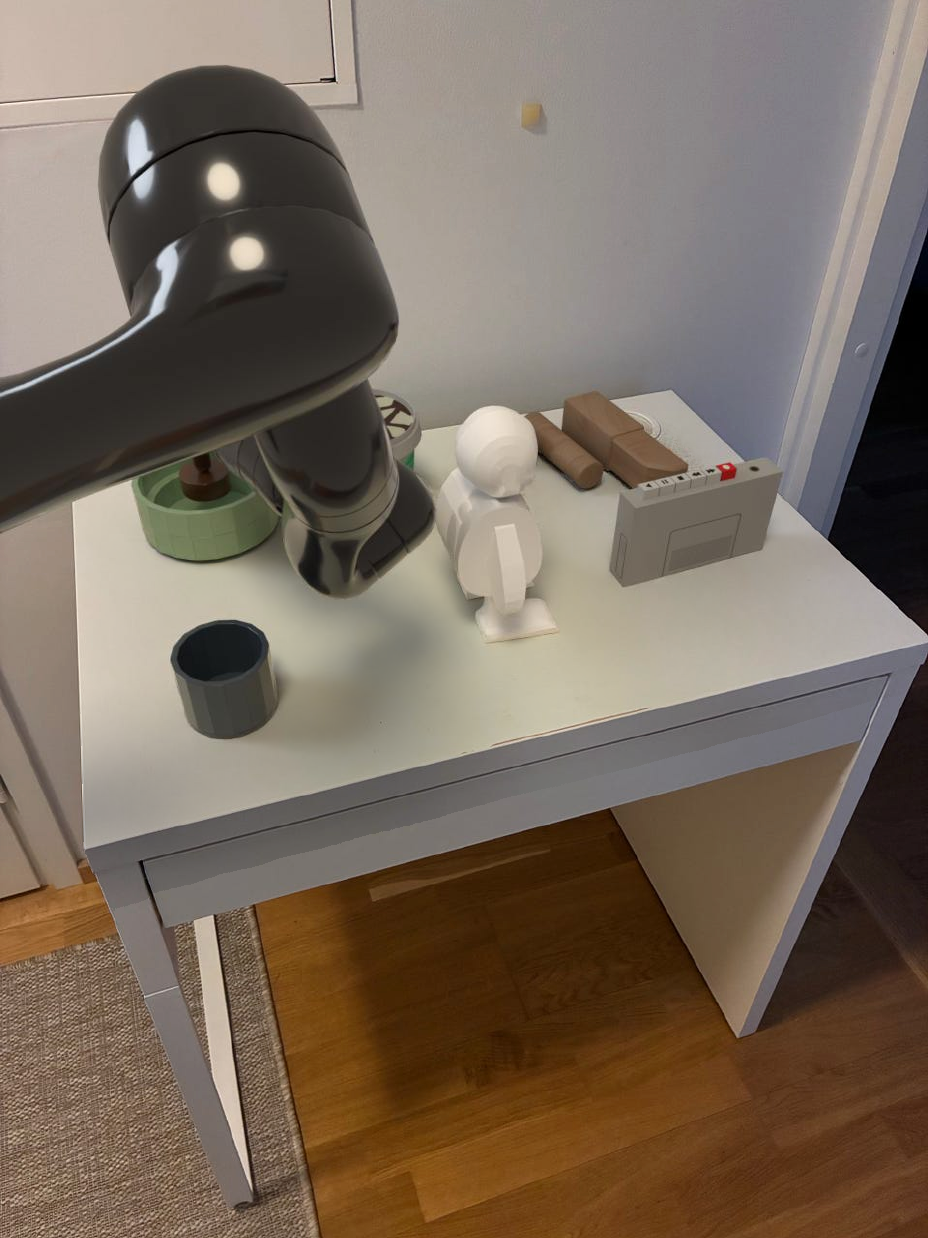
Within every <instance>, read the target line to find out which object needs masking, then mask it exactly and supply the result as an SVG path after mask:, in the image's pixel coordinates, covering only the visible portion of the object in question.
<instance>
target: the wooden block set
mask: <svg viewBox="0 0 928 1238" xmlns="http://www.w3.org/2000/svg"><path fill="white" fill-rule="evenodd" d="M562 409H563V410H562V419H561V428H560V427H558V426H557V425H556V424H555V423H554V422H553V421H551V420H550V419H549V418H547V417H546V416H545V415H543V414H542V413H541V412H539V411H530V412H528V413H527V414H525V415H524V416H523V417H525V418H526V419H528V420H529V421H530V422H531V424H532V426H533V427H534V430H535V434H536V439H537V444H538V452H539V453H541V454H542V455H543V456H545V457H546V459H548V460H549V461H550V462H551V463H552V464H553V465H555V467H557V468H558V469H559V470H560V471H561V472H562V473H563V474H564V475H566V476H567V477H568V478H569V479H571V481H572V482H574V483H575V484H576V485H577V486H578V487H580V488H581V489H586V490H587V489H591V488H593V487H595V486H596V485H597V484H598V483H599V482H600V481H601V479H602V478H603V475H604V471H606V472H607V471H608V472H610V471H611V472H613V473H614V475H616V476H617V477H618V478H620V479H621V480H622V481H624V482H625V483H626V484H627V485H628V486H629V487H631V489H634V488H637V487H638V484H641V483H645V482H650V481H654V480H658V479H662V478H666V477H670V476H675V475H679V474H683V473H687V472H689V471H688V470H689V466H690V465H689V464H688V463H687V462H686V461H685V460H684V459H683V458H681V457H679V456H678V455H677V454H676V453H675V452H673V451H672V450H670V449H669V448H668V447H667V446H665V445H664V444H662V442H660V441H658V440H657V439H656V438H655V437H653V436H652V435H651V434H650V433H648V432H647V431H646V430H645V427H644V425H643V424H642V423H640V422H639V421H638V420H637V419H635V418H633V417H632V416H631V415H630V414H628V413H627V412H625V410H623V409H622V408H620V407H619V406H618V405H616V403H614V402H613V401H611V400H610V399H608V397H606V396H605V395H603V394H602V393H600V392H599V391H597V390H596V391H595V390H593V391H590V392H585V393H582V394H578V395H575V396H571V397H568V398H567V397H566V398H565V399H564V401H563V408H562Z"/></svg>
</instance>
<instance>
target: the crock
mask: <svg viewBox="0 0 928 1238" xmlns="http://www.w3.org/2000/svg"><path fill="white" fill-rule="evenodd" d="M271 652H272V651H271V647H270V643H269V640H268V639H267V637H266V634H265V633H264V631H263V630H261V629H260V628H258V627H257V626H256V625H254V624H253V623H251V622H247V621H243V620H239V619H216V620H212V621H209V622H205V623H201V624H199V625H197V626H196V627H193V628H192V629H190V630H188V631H187V632H185V633H184V634H182V635H181V637H180V638H179V639H178V640H177V642H176V643H175V644H174V645H173V646H172V651H171V655H170V660H169V661H170V665H171V669H172V673H173V677H174V679H175V683H176V687H177V691H178V695H179V698H180V702H181V706H182V710H183V712H184V715H185V718H186V721H187V724H188V725H189V726H190V727H191V728H192V729H193V730H194V731H196V732H197V733H199V734H201V735H202V736H205V737H208V738H212V739H218V740H219V739H221V740H227V739H235V738H240V737H244V736H246V735H249V734H252V733H254V732H255V731H257V730H259V729H261V728H262V727H263V726H264V725H266V724H267V723H268V721H270V720H271V718H272V717H273V715H274V714H275V712H276V709H277V706H278V701H279V700H278V688H277V681H276V676H275V670H274V665H273V664H274V663H273V659H272V653H271Z"/></svg>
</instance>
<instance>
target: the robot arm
mask: <svg viewBox="0 0 928 1238" xmlns="http://www.w3.org/2000/svg"><path fill="white" fill-rule="evenodd" d="M98 161H99V162H98V174H97V175H98V176H97V178H98V179H97V188H98V189H97V190H98V198H99V205H100V211H101V219H102V223H103V228H104V233H105V236H106V240H107V244H108V247H109V250H110V253H111V257H112V259H113V263H114V266H115V269H116V273H117V275H118V280H119V283H120V286H121V290H122V293H123V296H124V300H125V303H126V307H127V309H128V313H129V319H128V320H127V321H126V322H125V323H124V324H122V325H120V326H119V327H118V328H117V329H114V330H113V331H112V332H110V333H109V334H107V335H106V336H104V337H102V338H100V339H99V340H97V341H95V342H94V343H92V344H89V345H88V346H86V347H84V348H81V349H79V350H77V351H74V352H73V353H70V354H68V355H66V356H63V357H59V358H57V359H55V360H52V361H50V362H49V361H48V362H47V363H43V364H41V365H39V366H35V367H33V368H30V369H27V370H24V371H22V372H19V373H15V374H10V375H5V376H0V535H1V534H4V533H6V532H8V531H10V530H12V529H14V528H17V527H18V526H22V525H23V524H25V523H28V522H30V521H32V520H34V519H37V518H39V517H41V516H43V515H46V514H48V513H50V512H53V511H56V510H57V509H59V508H62V507H64V506H66V505H69V504H71V503H74V502H76V501H79V500H81V499H84V498H87V497H88V496H91V495H94V494H96V493H100V492H103V491H105V490H107V489H110V488H113V487H116V486H119V485H120V484H124V483H127V482H129V481H132V479H135V478H138V477H141V476H144V475H146V474H149V473H152V472H155V471H158V470H160V469H163V468H166V467H169V466H172V465H174V464H177V463H180V462H183V461H186V460H188V459H191V458H194V457H197V456H200V455H202V454H205V453H208V452H212V453H213V454H214V456H215V457H216V459H217V460H218V461H220V462H221V463H222V464H223V465H224V466H225V467H226V468H227V469H228V470H229V471H230V472H231V473H232V474H234V475H235V476H236V477H237V478H239V479H240V480H242V481H243V482H245V483H246V484H247V485H248V486H249V487H250V488H251V489H252V490H253V491H254V492H255V493H256V494H257V495H258V496H259V497H260V498H261V499H262V500H263V501H264V502H265V503H266V504H267V505H268V506H269V507H270V508H271V509H272V510H273V511H274V512H275V513H277V514H278V516H279V517H281V535H282V541H283V545H284V549H285V552H286V555H287V558H288V560H289V562H290V564H291V565H292V568H293V569H294V571H295V572H296V574H297V575H298V577H299V578H300V580H302V582H304V584H305V585H307V586H308V588H310V590H312V591H314V592H315V593H317V594H318V595H320V596H321V597H324V598H326V599H329V600H330V599H331V600H336V601H343V600H345V601H346V600H350V599H354V598H356V597H358V596H360V595H362V594H363V593H365V592H366V591H367V590H369V589H370V588H372V586H374V585H375V584H376V583H377V582H379V580H380V579H382V578H383V577H384V576H385V575H386V574H387V573H389V572H390V571H391V570H392V569H393V568H395V567H396V566H397V565H398V564H399V563H400V562H401V561H402V560H404V559H405V558H406V557H407V556H408V555H409V554H411V553H412V552H413V551H415V550H416V549H417V548H418V547H420V545H422V544H423V543H424V542H425V541H426V540H427V539H428V538H429V536H430V535H431V534H432V532H433V530H434V528H435V525H436V502H435V499H434V495H433V494H432V492H431V490H430V488H429V486H428V485H427V483H426V482H425V481H424V479H422V477H421V476H420V475H419V474H418V473H417V472H416V471H415V470H414V469H413V470H412V469H411V468H409V467H408V466H407V465H405V464H404V463H402V462H401V461H399V460H397V459H395V456H394V452H393V448H392V444H391V440H390V437H389V433H388V430H387V427H386V424H385V421H384V418H383V415H382V413H381V410H380V407H379V405H378V402H377V400H376V398H375V395H374V393H373V390H372V385H371V382H370V380H369V378H370V377H371V376H372V375H373V374H374V373H376V372H377V371H378V369H380V367H381V366H382V365H383V364H384V362H385V361H387V359H388V358H389V355H390V354H391V352H392V350H393V349H394V346H395V343H396V342H397V339H398V335H399V325H400V315H399V310H398V305H397V301H396V297H395V294H394V291H393V288H392V285H391V282H390V279H389V277H388V274H387V271H386V268H385V266H384V263H383V259H382V257H381V255H380V252H379V250H378V248H377V246H376V244H375V241H374V239H373V236H372V235H373V234H372V233H371V230H370V228H369V224H368V222H367V220H366V216H365V214H364V211H363V209H362V207H361V206H362V205H361V204H360V200H359V198H358V196H357V193H356V190H355V187H354V184H353V182H352V179H351V176H350V173H349V171H348V169H347V167H346V163H345V161H344V159H343V157H342V153H341V151H340V150H339V147H338V145H337V143H336V142H335V140H334V138H333V137H332V136H331V134H330V132H329V130H328V129H327V127H326V126H325V125H324V124H323V122H322V120H321V118H320V117H319V116H318V114H317V113H316V112H315V110H314V109H313V108H312V107H311V106H310V105H309V104H308V103H307V102H306V101H305V100H304V99H303V98H302V97H301V96H299V94H298V93H297V92H296V91H294V90H293V89H291V88H290V87H288V86H287V85H286V84H284V83H282V82H281V81H279V80H278V79H276V78H274V77H272V76H270V75H267V74H264V73H262V72H260V71H258V70H254V69H252V68H246V67H241V66H236V65H235V66H234V65H229V64H211V65H210V64H209V65H206V64H205V65H198V66H194V67H189V68H184V69H179V70H176V71H172V72H171V73H168V74H165V75H163V76H161V77H159V78H157V79H156V80H154V81H152V82H151V83H149V84H147V85H146V86H145V87H143V88H142V89H140V90H139V91H137V92H136V93H134V94H133V95H132V97H130V99H128V101H127V102H125V104H124V105H123V106H122V107H121V108H120V109H119V110H118V111H117V113H116V115H115V117H114V119H113V120H112V121H111V123H110V125H109V127H108V129H107V131H106V132H105V137H104V140H103V143H102V147H101V149H100V153H99V159H98Z"/></svg>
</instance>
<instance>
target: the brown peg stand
mask: <svg viewBox="0 0 928 1238" xmlns="http://www.w3.org/2000/svg"><path fill="white" fill-rule="evenodd" d="M179 478H180V483H181V487H182V491H183V494H184V495H185V497H187V498H188V499H190V500H193V501H198V502H208V501H214V500H217V499H220V498H222V497H224V496H226V495H227V494H228V493H229V492H230V491H231V489H232V486H233V484H232V478H231V473H230V471H229V470H228V469H227V468H226V467H225V466H224V465H223V464H222V463H221V462H220V461H218V460H217V459H216V458H210V454H209V452H208V453H205V454H202V455H200V456H197V457H194V458H193V461H190V462H188V463H186V464H185V465H184V466H183V467H182V468H181V469H180V471H179Z"/></svg>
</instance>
